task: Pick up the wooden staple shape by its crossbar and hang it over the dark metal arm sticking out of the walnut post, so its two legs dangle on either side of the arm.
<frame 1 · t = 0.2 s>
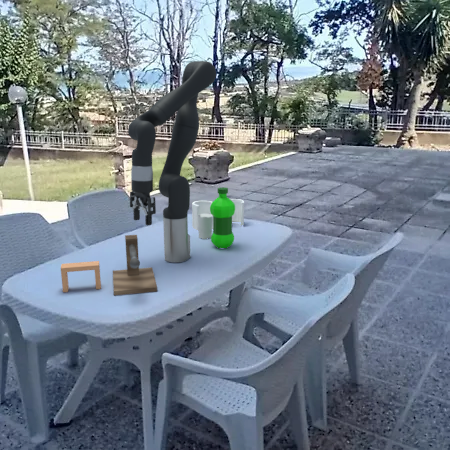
hand: (142, 222, 173), 17 cm above the table, tool pointing down, fingers open, 8 cm apart
plastic bottle: (222, 247, 200), on the table
white caddy: (218, 226, 229), on the table
drinking glass: (205, 237, 213), on the table
wooden staple shape: (82, 288, 160), on the table
hook stand: (133, 277, 169), on the table
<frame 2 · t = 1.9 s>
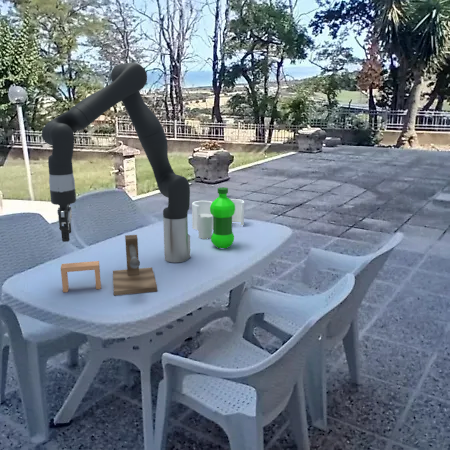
hand: (67, 237, 154), 18 cm above the table, tool pointing down, fingers open, 8 cm apart
nothing on the table moved.
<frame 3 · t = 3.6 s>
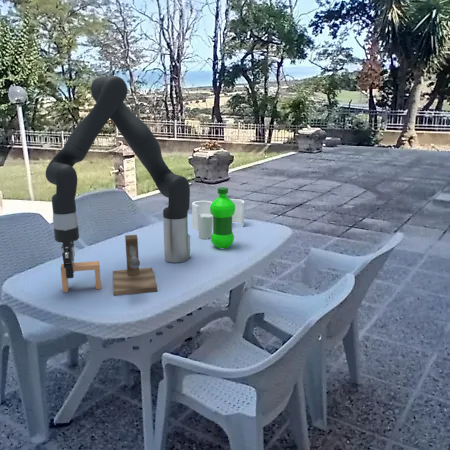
hand: (70, 275, 157), 5 cm above the table, tool pointing down, fingers closed on wooden staple shape, 4 cm apart
wooden staple shape: (82, 288, 160), on the table, touching gripper
everything else where it was.
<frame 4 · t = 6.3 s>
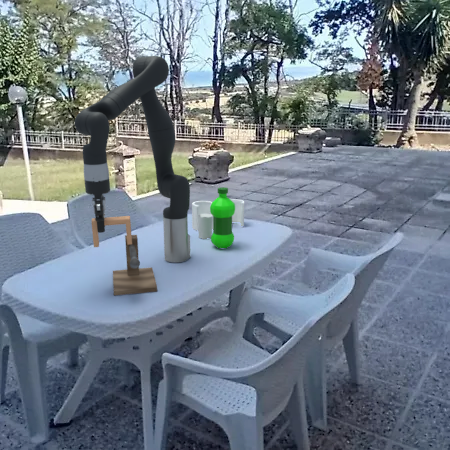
hand: (101, 229, 153), 21 cm above the table, tool pointing down, fingers closed on wooden staple shape, 4 cm apart
wooden staple shape: (113, 243, 156), point 16 cm above the table, touching gripper
everything else where it was.
when the fingers open (12 cm above the table, at t = 8.9 s): wooden staple shape stays where it is, resting on hook stand.
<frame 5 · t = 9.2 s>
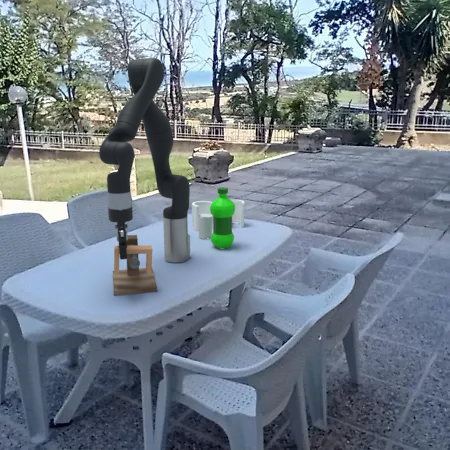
hand: (123, 255, 155), 12 cm above the table, tool pointing down, fingers open, 6 cm apart
wooden staple shape: (132, 271, 158), point 6 cm above the table, touching hook stand
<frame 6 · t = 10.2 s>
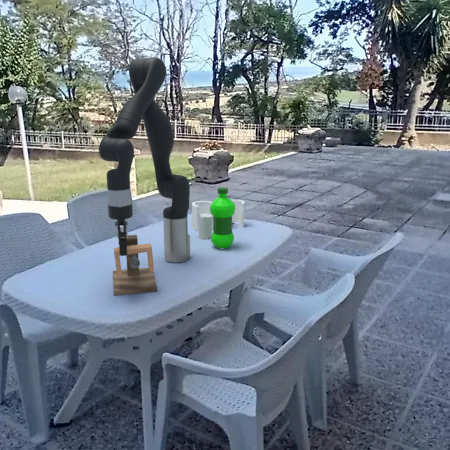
hand: (123, 250, 155), 14 cm above the table, tool pointing down, fingers open, 8 cm apart
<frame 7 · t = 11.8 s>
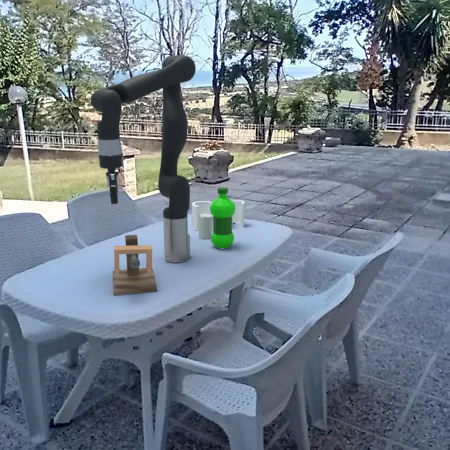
hand: (114, 200, 162), 28 cm above the table, tool pointing down, fingers open, 8 cm apart
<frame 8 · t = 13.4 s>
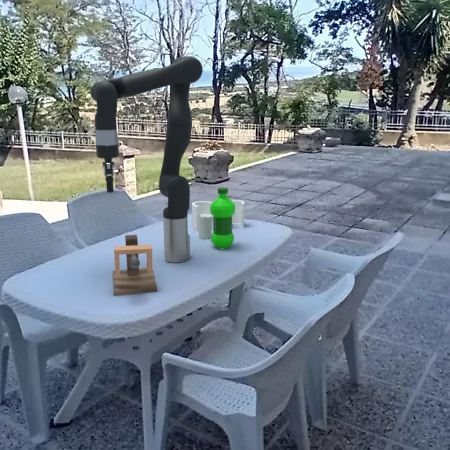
hand: (110, 189, 167), 30 cm above the table, tool pointing down, fingers open, 8 cm apart
at the end: wooden staple shape 0.4 cm from the target spot on the hook stand, point 6.0 cm above the hook stand's base; wooden staple shape touching hook stand; wooden staple shape tilted 3° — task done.
